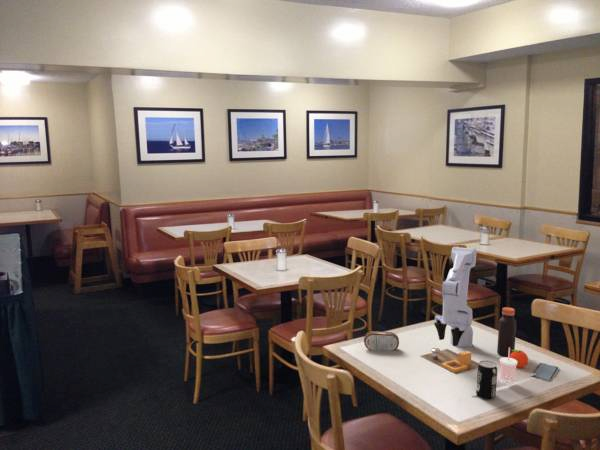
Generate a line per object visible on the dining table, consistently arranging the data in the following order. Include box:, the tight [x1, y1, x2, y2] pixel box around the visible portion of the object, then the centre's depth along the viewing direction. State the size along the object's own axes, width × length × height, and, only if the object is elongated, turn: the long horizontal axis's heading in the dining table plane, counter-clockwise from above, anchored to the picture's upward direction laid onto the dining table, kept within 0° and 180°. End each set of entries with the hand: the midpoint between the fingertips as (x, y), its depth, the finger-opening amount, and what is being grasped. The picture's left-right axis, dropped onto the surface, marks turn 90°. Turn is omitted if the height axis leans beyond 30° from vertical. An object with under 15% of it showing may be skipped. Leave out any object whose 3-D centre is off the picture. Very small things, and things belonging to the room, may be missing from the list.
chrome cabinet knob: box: [430, 347, 441, 360], centre depth 216 cm, size 3×3×4 cm
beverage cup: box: [499, 347, 517, 387], centre depth 194 cm, size 6×6×14 cm
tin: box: [363, 330, 400, 351], centre depth 225 cm, size 15×3×8 cm, turn 84°
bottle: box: [496, 306, 517, 357], centre depth 222 cm, size 7×7×20 cm
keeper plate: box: [419, 348, 479, 375], centre depth 214 cm, size 16×20×1 cm
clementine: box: [509, 349, 529, 369], centre depth 210 cm, size 8×7×7 cm
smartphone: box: [530, 362, 560, 382], centre depth 205 cm, size 7×1×15 cm
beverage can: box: [475, 360, 499, 400], centre depth 184 cm, size 7×7×12 cm
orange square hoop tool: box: [441, 350, 473, 374], centre depth 208 cm, size 12×7×5 cm, turn 120°
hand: (448, 342), depth 212 cm, fingers open, 7 cm apart
